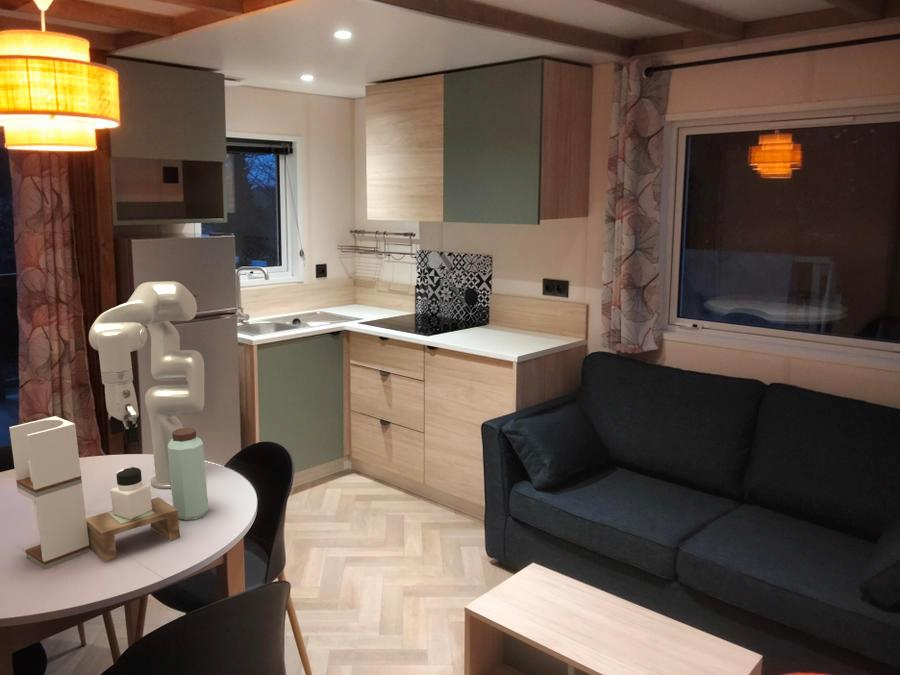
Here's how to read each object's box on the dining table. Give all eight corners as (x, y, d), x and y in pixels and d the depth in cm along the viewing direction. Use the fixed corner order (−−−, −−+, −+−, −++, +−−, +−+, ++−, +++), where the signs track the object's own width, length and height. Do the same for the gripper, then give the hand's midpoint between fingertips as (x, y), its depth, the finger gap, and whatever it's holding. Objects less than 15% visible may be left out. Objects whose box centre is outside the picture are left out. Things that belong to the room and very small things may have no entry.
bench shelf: (161, 523, 224) (158, 496, 222) (180, 537, 215) (177, 508, 214) (87, 547, 210) (84, 517, 209) (104, 562, 202) (101, 532, 200)
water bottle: (216, 513, 230) (209, 430, 225) (184, 524, 223) (176, 439, 218) (198, 504, 237) (191, 423, 232) (166, 514, 230) (158, 432, 224)
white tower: (70, 541, 214) (55, 416, 207) (89, 552, 207) (75, 423, 200) (26, 557, 205) (9, 427, 198) (45, 569, 199) (28, 435, 192)
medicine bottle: (152, 510, 213) (148, 467, 210) (130, 520, 207) (125, 476, 204) (135, 504, 216) (130, 463, 214) (112, 514, 210) (107, 471, 208)
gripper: (145, 379, 205) (152, 442, 209) (118, 366, 217) (125, 426, 221) (116, 385, 200) (123, 449, 204) (90, 372, 212) (97, 433, 216)
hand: (124, 437), depth 212 cm, fingers open, 9 cm apart
